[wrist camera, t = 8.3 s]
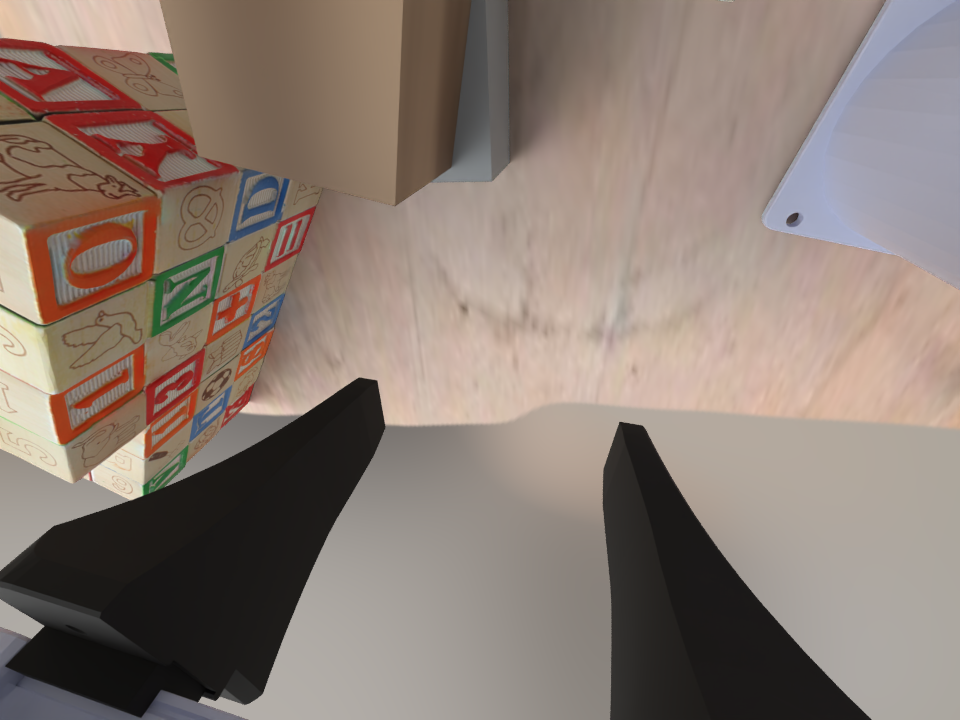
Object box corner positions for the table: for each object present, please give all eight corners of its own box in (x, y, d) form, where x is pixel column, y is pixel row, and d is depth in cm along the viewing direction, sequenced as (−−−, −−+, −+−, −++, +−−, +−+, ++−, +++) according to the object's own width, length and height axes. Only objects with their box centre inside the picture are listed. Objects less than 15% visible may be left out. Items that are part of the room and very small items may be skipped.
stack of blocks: (252, 403, 30) (89, 560, 20) (175, 359, 29) (-36, 501, 19) (339, 146, 17) (11, 230, 7) (207, 49, 16) (-380, -2, 6)
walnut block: (476, -42, 10) (408, -125, 6) (451, 167, 13) (395, 206, 9) (295, -81, 10) (114, -184, 6) (312, 133, 13) (198, 156, 9)
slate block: (508, -87, 12) (480, -147, 9) (510, 162, 16) (491, 181, 13) (312, -55, 13) (228, -96, 10) (359, 165, 18) (309, 184, 14)
